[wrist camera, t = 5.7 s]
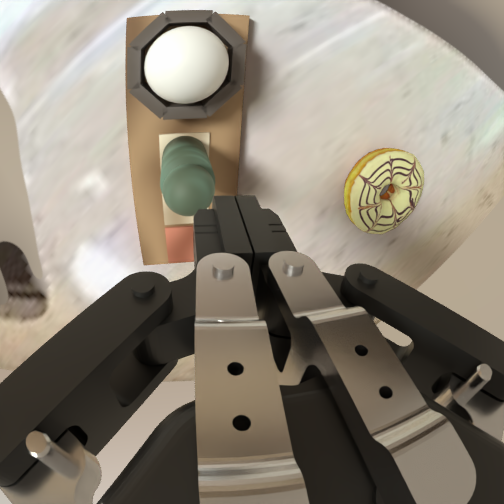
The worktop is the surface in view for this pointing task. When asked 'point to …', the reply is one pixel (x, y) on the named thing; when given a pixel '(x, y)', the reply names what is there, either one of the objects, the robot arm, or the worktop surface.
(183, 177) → the pawn
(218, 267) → the robot arm
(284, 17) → the worktop surface
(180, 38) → the white ball
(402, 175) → the decorated donut
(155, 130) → the game board
